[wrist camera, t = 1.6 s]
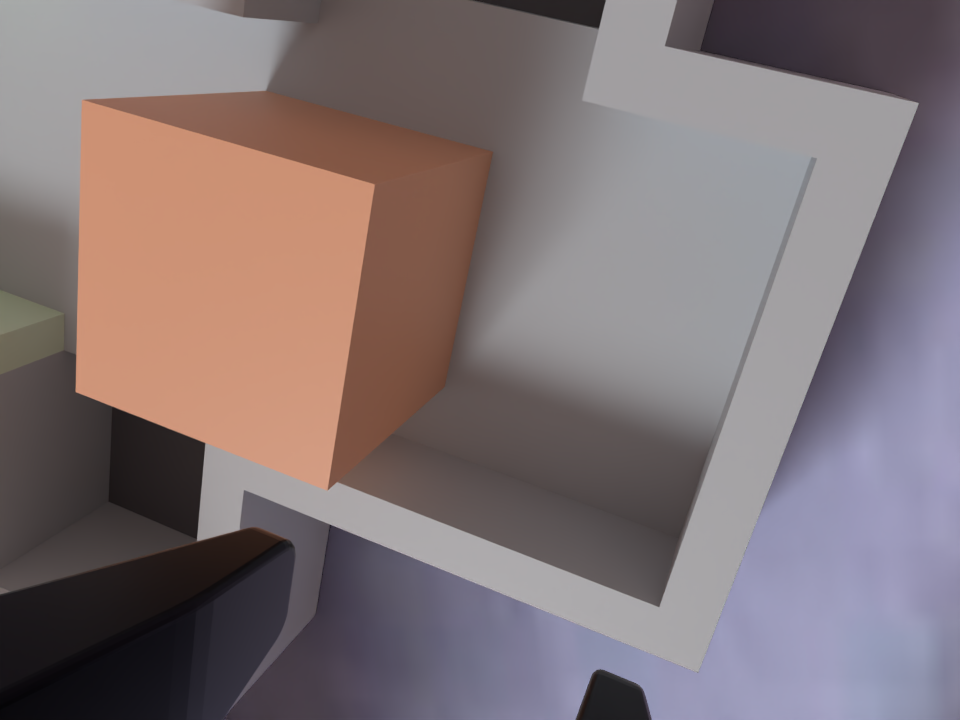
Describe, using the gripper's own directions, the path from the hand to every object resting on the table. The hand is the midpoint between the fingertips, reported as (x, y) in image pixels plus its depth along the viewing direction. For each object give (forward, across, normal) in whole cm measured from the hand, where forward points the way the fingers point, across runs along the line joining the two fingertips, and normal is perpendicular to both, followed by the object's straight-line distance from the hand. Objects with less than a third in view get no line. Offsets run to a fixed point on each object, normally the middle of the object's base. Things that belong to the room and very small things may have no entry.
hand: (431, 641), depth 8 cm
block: (+10, +6, 0) cm, 12 cm away
